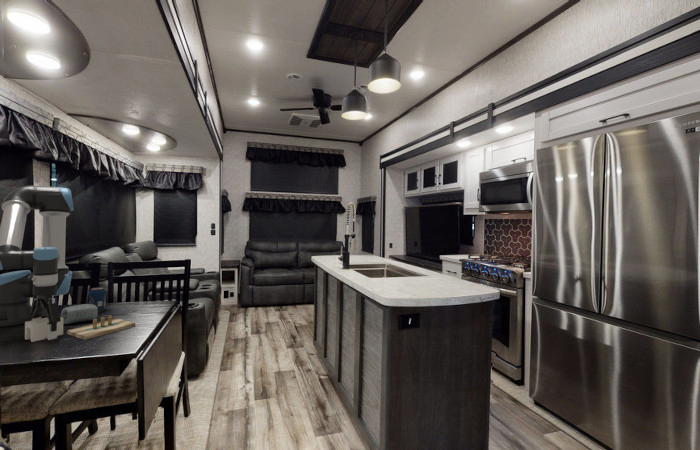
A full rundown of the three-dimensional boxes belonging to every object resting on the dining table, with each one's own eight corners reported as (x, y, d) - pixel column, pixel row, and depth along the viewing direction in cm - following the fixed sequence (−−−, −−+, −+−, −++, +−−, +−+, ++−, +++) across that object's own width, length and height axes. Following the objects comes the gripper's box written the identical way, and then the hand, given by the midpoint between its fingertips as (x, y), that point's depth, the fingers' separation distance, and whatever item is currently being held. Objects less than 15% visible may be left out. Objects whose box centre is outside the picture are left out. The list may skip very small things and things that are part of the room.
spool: (57, 321, 146) (65, 299, 151) (56, 325, 152) (64, 304, 157) (94, 323, 154) (101, 302, 159) (92, 328, 160) (99, 307, 165)
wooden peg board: (66, 333, 140) (67, 321, 140) (117, 321, 158) (117, 310, 158) (85, 339, 134) (85, 326, 134) (135, 326, 152) (135, 314, 152)
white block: (24, 339, 133) (25, 321, 133) (55, 331, 142) (55, 315, 142) (32, 342, 130) (32, 324, 130) (63, 334, 139) (63, 318, 139)
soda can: (86, 311, 173) (87, 288, 173) (102, 308, 179) (102, 286, 179) (91, 313, 169) (92, 290, 169) (107, 310, 175) (108, 288, 175)
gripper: (19, 282, 138) (18, 333, 138) (48, 289, 127) (47, 344, 127) (42, 280, 145) (41, 328, 145) (72, 286, 134) (70, 338, 134)
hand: (44, 336), depth 136 cm, fingers open, 12 cm apart
